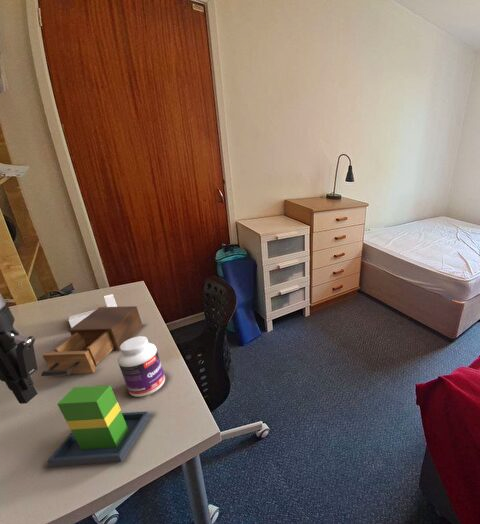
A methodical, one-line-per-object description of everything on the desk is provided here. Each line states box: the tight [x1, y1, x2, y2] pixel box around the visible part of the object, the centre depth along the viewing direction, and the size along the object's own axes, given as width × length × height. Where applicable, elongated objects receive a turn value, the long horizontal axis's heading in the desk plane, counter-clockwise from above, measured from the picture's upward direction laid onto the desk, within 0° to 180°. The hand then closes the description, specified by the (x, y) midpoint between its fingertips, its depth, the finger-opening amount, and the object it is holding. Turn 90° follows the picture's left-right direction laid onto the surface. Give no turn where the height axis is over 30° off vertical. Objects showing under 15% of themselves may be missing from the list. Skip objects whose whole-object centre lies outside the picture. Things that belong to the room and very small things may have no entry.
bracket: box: [68, 293, 118, 329], centre depth 100 cm, size 13×7×8 cm, turn 134°
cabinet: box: [68, 305, 143, 352], centre depth 90 cm, size 13×12×9 cm
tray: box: [47, 411, 150, 468], centre depth 61 cm, size 13×10×2 cm
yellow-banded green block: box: [57, 385, 128, 450], centre depth 58 cm, size 7×4×14 cm, turn 96°
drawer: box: [41, 331, 115, 377], centre depth 79 cm, size 16×10×7 cm, turn 6°
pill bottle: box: [117, 335, 166, 398], centre depth 72 cm, size 8×8×14 cm
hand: (28, 398), depth 65 cm, fingers closed
